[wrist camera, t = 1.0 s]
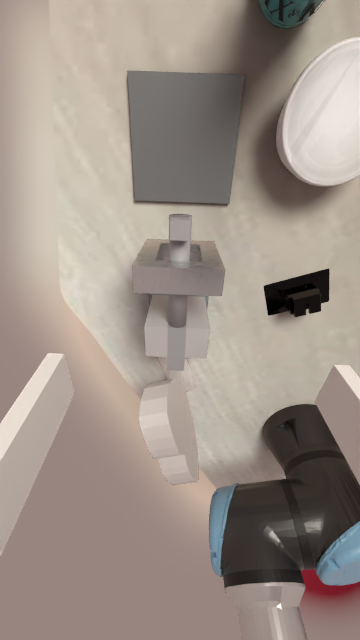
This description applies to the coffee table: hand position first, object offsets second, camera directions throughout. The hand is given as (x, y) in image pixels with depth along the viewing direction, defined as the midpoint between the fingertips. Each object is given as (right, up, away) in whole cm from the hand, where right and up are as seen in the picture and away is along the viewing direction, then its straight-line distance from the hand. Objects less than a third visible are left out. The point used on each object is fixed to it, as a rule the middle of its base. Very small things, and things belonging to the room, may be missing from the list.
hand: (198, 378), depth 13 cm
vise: (-1, +9, +25) cm, 27 cm away
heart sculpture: (-2, -6, +34) cm, 35 cm away
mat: (0, +23, +16) cm, 29 cm away
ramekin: (+15, +25, +16) cm, 33 cm away
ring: (-1, +11, +18) cm, 21 cm away
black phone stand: (+17, +7, +26) cm, 32 cm away
